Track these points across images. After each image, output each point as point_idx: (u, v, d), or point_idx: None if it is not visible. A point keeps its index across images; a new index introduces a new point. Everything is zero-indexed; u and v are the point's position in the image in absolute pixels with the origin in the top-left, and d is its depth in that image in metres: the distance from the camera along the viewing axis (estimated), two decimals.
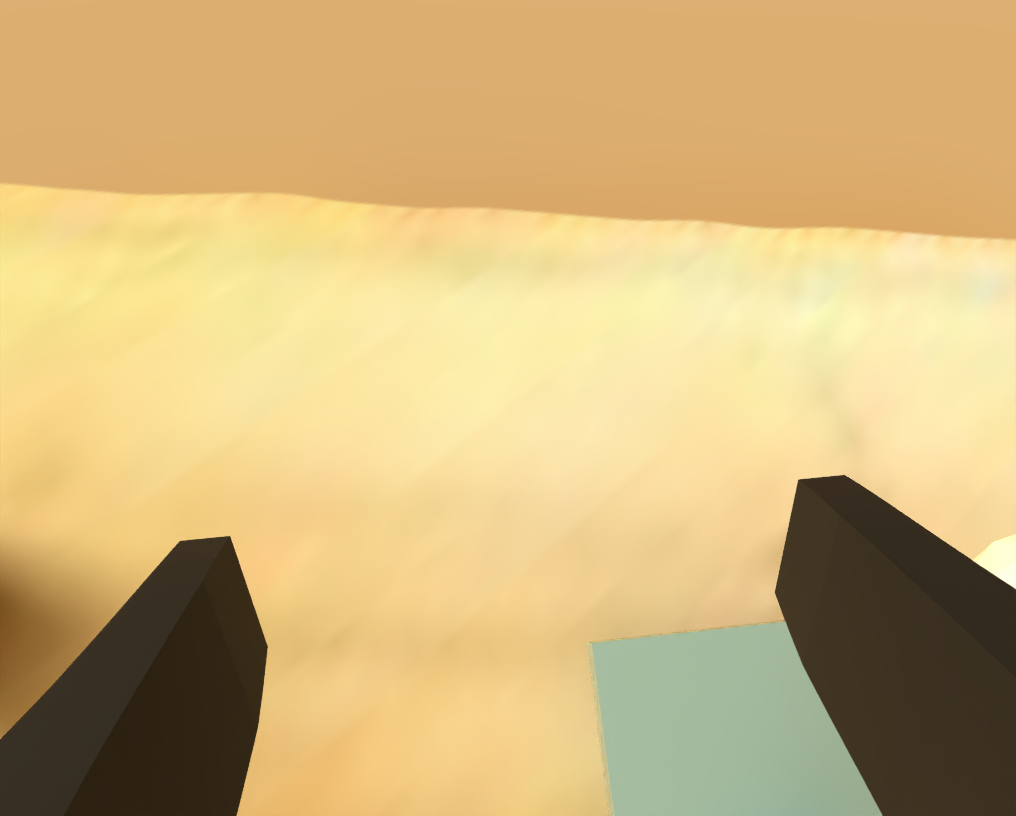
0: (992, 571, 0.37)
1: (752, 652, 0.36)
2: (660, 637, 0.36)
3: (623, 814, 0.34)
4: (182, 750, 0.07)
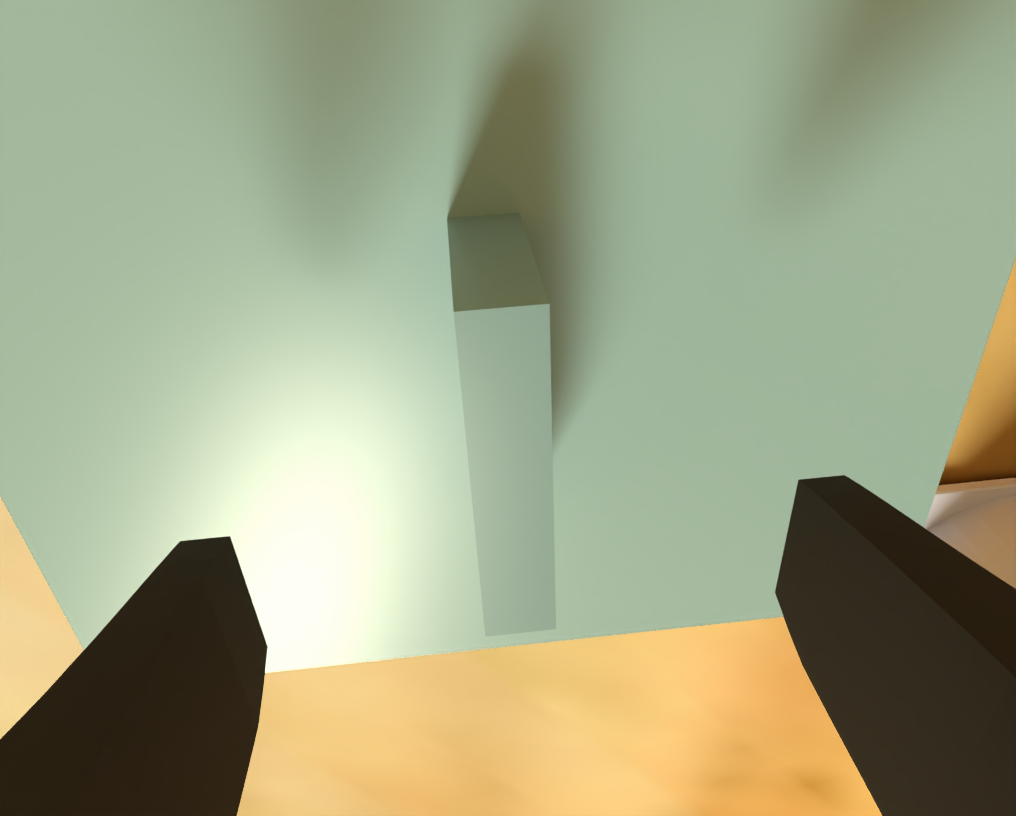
0: None
1: (30, 414, 0.13)
2: (55, 589, 0.16)
3: (419, 644, 0.18)
4: (182, 750, 0.07)
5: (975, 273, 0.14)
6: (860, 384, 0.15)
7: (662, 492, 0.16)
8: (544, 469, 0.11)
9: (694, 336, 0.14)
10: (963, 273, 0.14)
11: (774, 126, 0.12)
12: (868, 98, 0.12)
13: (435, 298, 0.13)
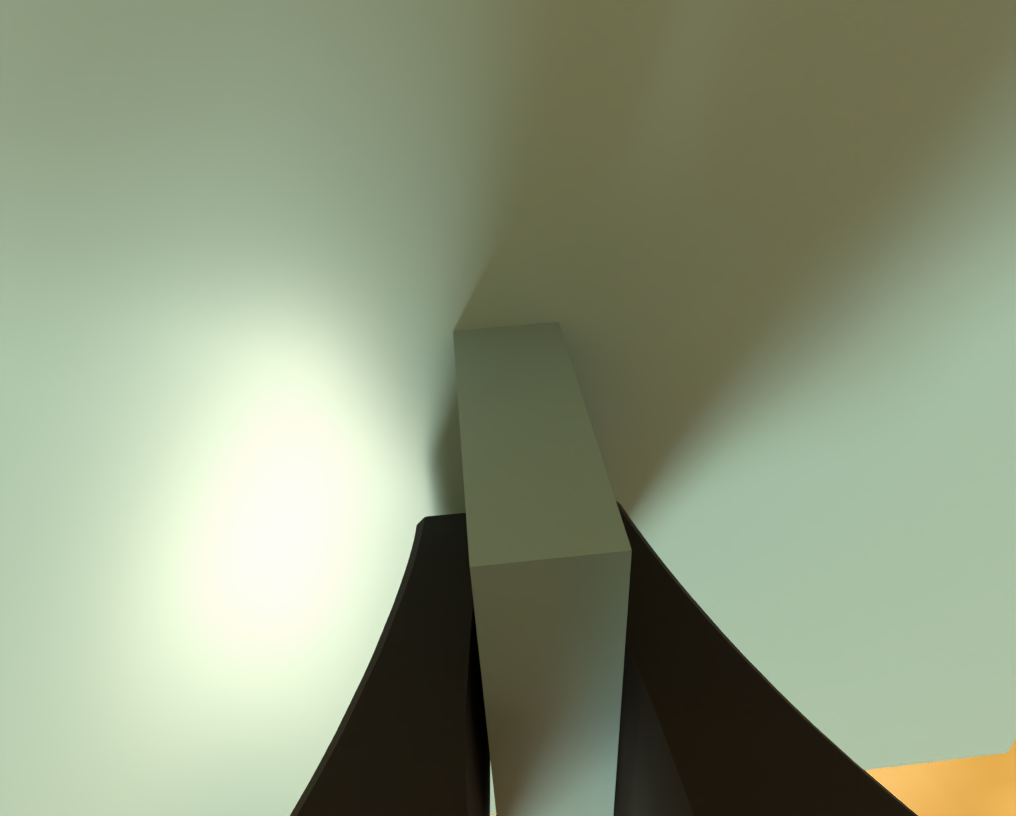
0: None
1: None
2: None
3: None
4: (478, 716, 0.07)
5: None
6: (1004, 523, 0.11)
7: None
8: (605, 749, 0.07)
9: (792, 472, 0.10)
10: None
11: (939, 200, 0.08)
12: None
13: (436, 433, 0.09)
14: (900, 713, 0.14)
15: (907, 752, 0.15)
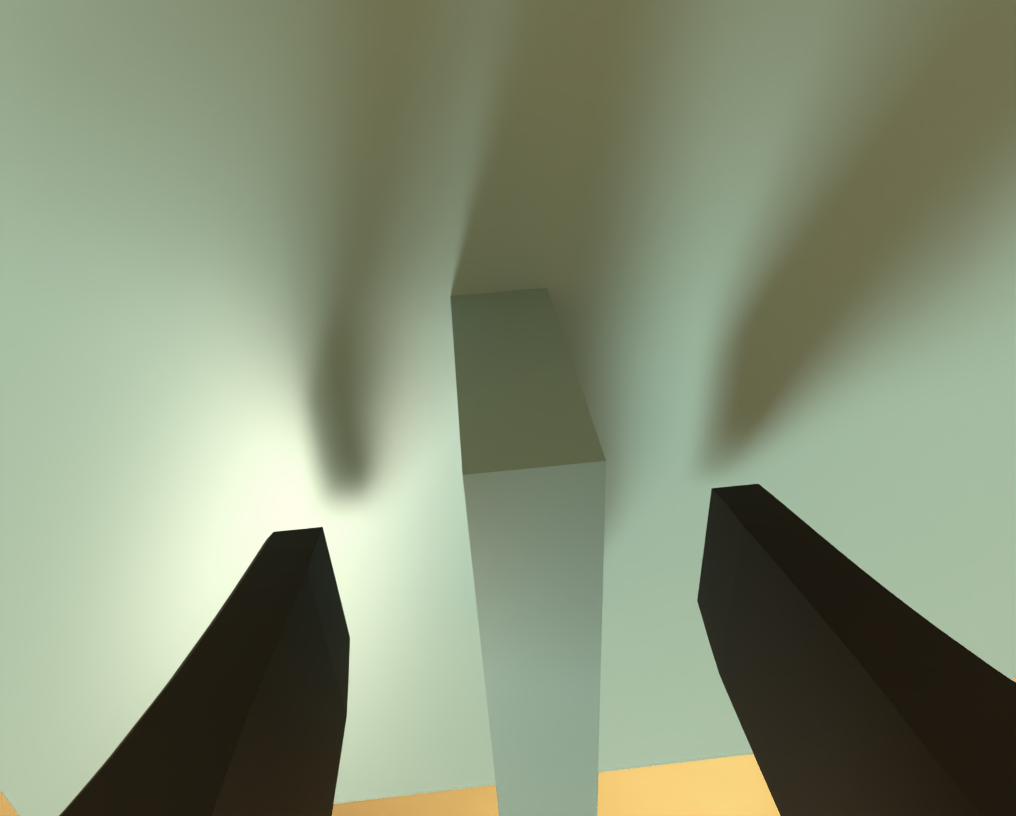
0: None
1: None
2: None
3: (417, 781, 0.15)
4: (295, 738, 0.07)
5: None
6: (972, 487, 0.12)
7: None
8: (589, 664, 0.08)
9: (768, 435, 0.11)
10: None
11: (892, 173, 0.09)
12: None
13: (435, 395, 0.10)
14: None
15: None
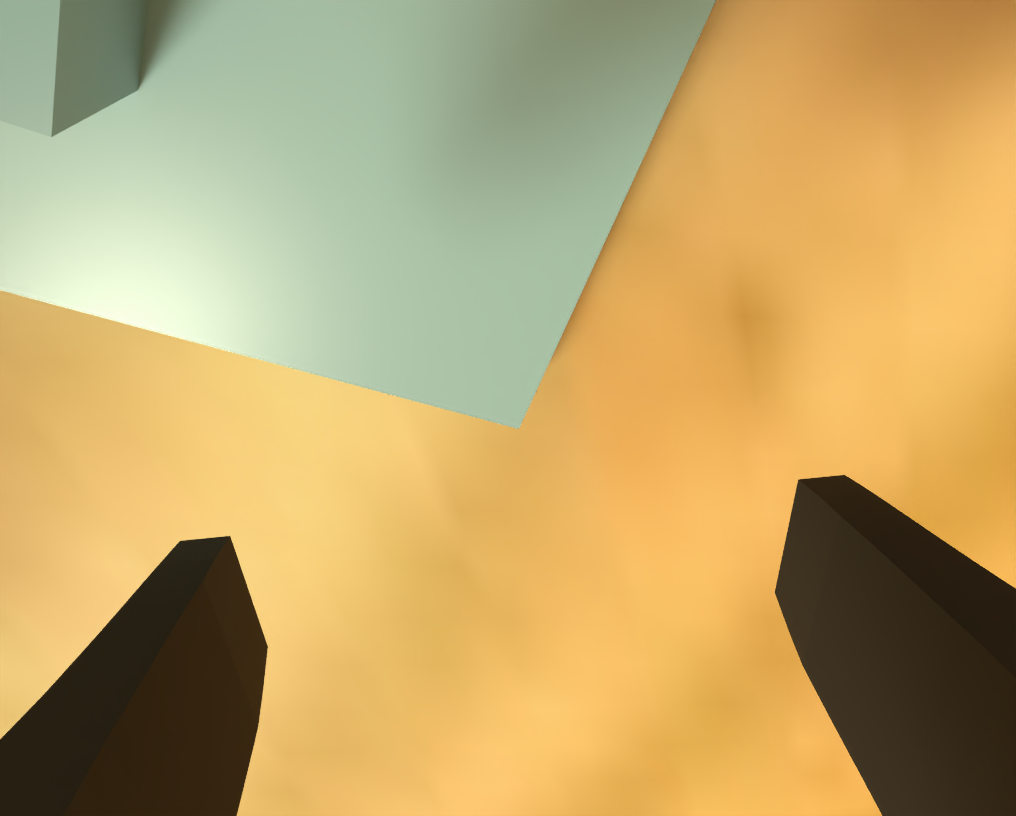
0: None
1: None
2: None
3: None
4: (182, 750, 0.07)
5: (663, 28, 0.13)
6: (529, 116, 0.14)
7: (295, 162, 0.14)
8: None
9: None
10: (652, 21, 0.13)
11: None
12: None
13: None
14: (433, 329, 0.16)
15: (436, 388, 0.17)
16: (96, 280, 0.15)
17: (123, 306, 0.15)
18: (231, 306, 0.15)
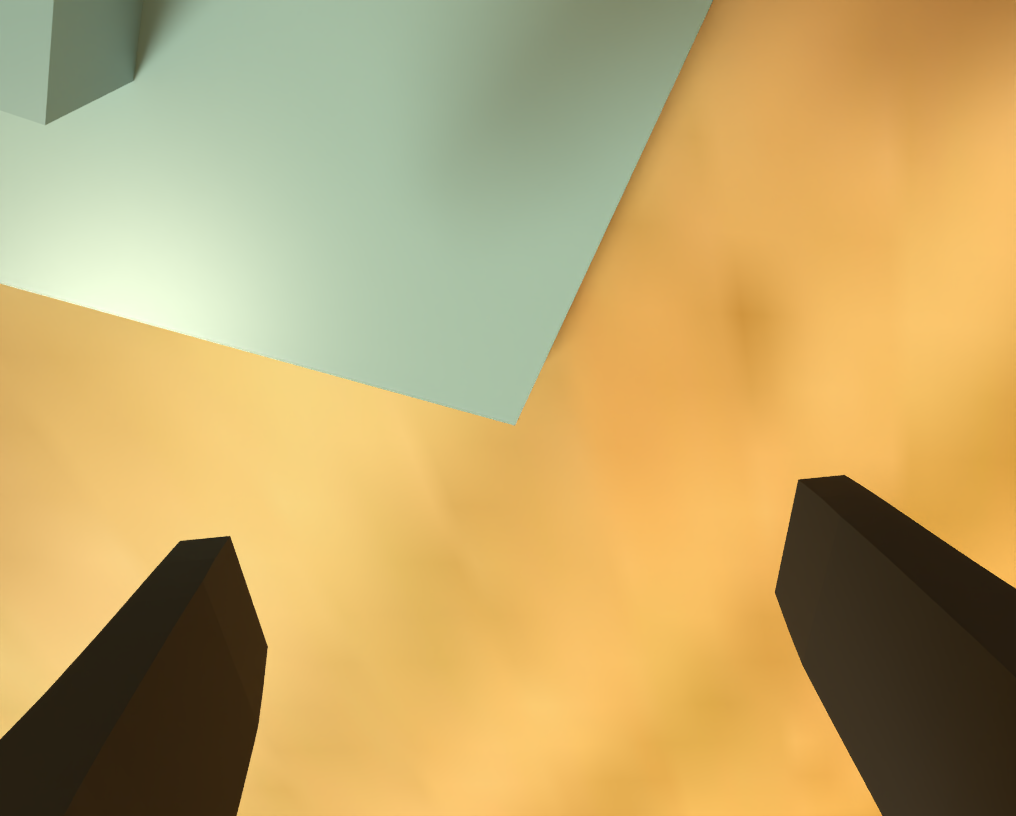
0: None
1: None
2: None
3: None
4: (182, 751, 0.07)
5: (662, 22, 0.13)
6: (527, 110, 0.14)
7: (291, 155, 0.14)
8: None
9: None
10: (651, 16, 0.13)
11: None
12: None
13: None
14: (430, 324, 0.16)
15: (432, 383, 0.17)
16: (90, 272, 0.15)
17: (118, 299, 0.15)
18: (226, 299, 0.15)
